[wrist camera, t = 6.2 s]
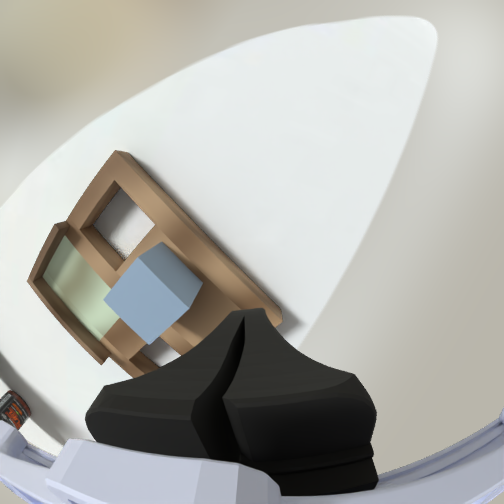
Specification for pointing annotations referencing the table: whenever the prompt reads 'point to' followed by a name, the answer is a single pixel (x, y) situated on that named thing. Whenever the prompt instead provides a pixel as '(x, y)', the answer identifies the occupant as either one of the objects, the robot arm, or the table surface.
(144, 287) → the slate block
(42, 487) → the robot arm
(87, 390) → the table surface
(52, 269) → the brown compartment tray
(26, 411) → the supplement bottle
